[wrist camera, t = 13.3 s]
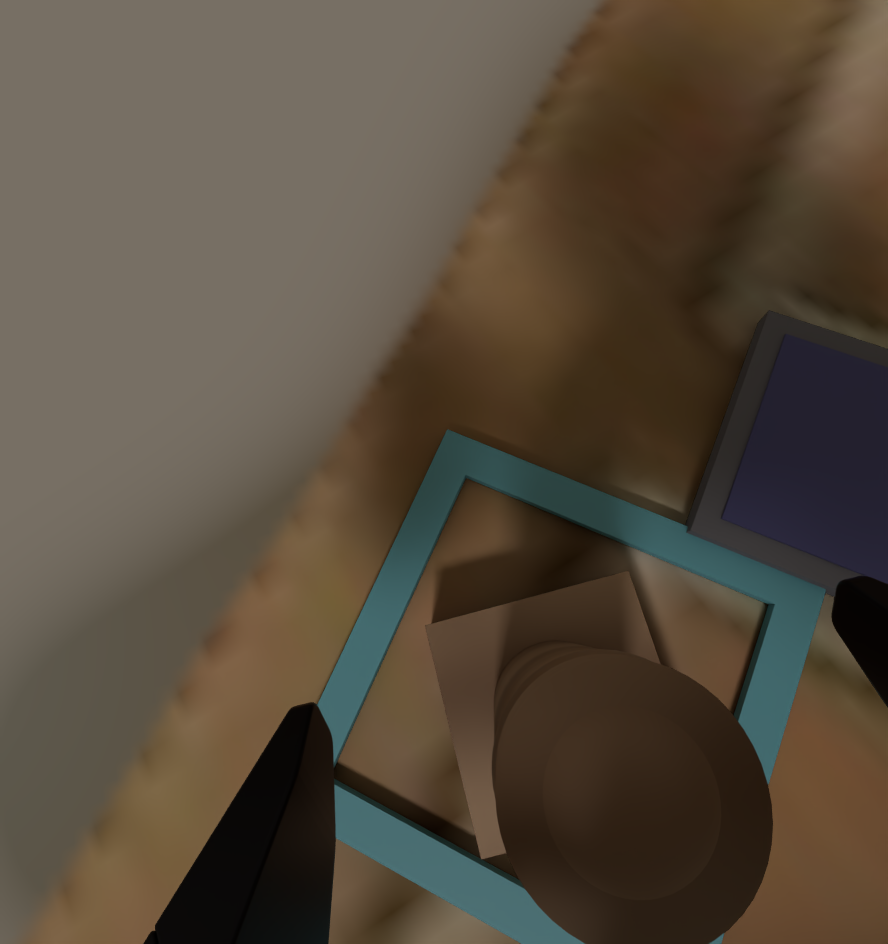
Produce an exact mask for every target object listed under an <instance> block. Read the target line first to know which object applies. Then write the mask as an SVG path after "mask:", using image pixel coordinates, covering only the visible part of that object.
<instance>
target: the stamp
mask: <svg viewBox="0 0 888 944" xmlns="http://www.w3.org/2000/svg"><path fill="white" fill-rule="evenodd" d="M425 627H426V632H427V636H428V640H429V644H430V648H431V652H432V657H433V661H434V665H435V669H436V673H437V677H438V682H439V686H440V690H441V694H442V698H443V702H444V707H445V711H446V715H447V719H448V723H449V727H450V732H451V736H452V740H453V744H454V748H455V752H456V757H457V761H458V765H459V769H460V773H461V777H462V781H463V786H464V790H465V794H466V798H467V802H468V806H469V811H470V815H471V819H472V823H473V827H474V831H475V836H476V840H477V844H478V848H479V852H480V856H481V859H485V858H489V857H493V856H496V855H500V854H504V853H507V856H508V858H509V860H510V862H511V865H512V867H513V869H514V871H515V873H516V875H517V876H518V878H519V880H520V881H521V883H522V885H523V887H524V888H525V890H526V891H527V892H528V894H529V895H530V896H531V898H532V899H533V900H534V902H535V903H536V904H537V906H538V907H539V908H540V909H541V910H542V911H543V912H544V913H545V914H546V915H547V916H548V917H549V918H550V919H551V920H552V921H553V922H555V923H556V924H557V925H558V926H560V927H561V928H562V929H563V930H565V931H566V932H567V933H568V934H570V935H572V936H573V937H575V938H577V939H578V940H580V941H582V942H583V943H585V944H709V943H711V942H713V941H714V940H716V939H717V938H718V937H720V936H721V935H722V934H723V933H725V932H726V931H727V930H729V929H730V928H731V927H732V926H733V925H734V923H735V922H736V921H737V920H738V919H739V918H740V917H741V916H742V915H743V913H744V912H745V911H746V909H747V908H748V906H749V905H750V903H751V902H752V901H753V899H754V897H755V895H756V893H757V891H758V889H759V887H760V885H761V883H762V880H763V877H764V874H765V871H766V868H767V865H768V861H769V855H770V850H771V845H772V829H773V819H772V804H771V799H770V793H769V788H768V783H767V780H766V777H765V773H764V770H763V767H762V764H761V762H760V760H759V757H758V755H757V753H756V750H755V748H754V746H753V744H752V743H751V741H750V739H749V737H748V736H747V734H746V732H745V731H744V729H743V728H742V726H741V725H740V724H739V722H738V721H737V720H736V718H735V717H734V716H733V714H732V713H731V712H730V711H729V710H728V709H727V708H726V707H725V706H724V704H723V703H722V702H721V701H720V700H719V699H718V698H717V697H715V696H714V695H713V694H712V693H711V692H709V691H708V690H707V689H706V688H705V687H703V686H702V685H700V684H699V683H697V682H696V681H694V680H693V679H691V678H690V677H688V676H686V675H684V674H682V673H680V672H678V671H676V670H674V669H672V668H669V667H667V666H664V665H661V664H660V661H659V658H658V655H657V652H656V649H655V646H654V643H653V641H652V638H651V635H650V632H649V629H648V626H647V623H646V620H645V617H644V615H643V612H642V609H641V606H640V603H639V600H638V597H637V594H636V592H635V589H634V586H633V583H632V580H631V577H630V574H629V571H625V572H622V573H618V574H614V575H611V576H607V577H603V578H599V579H596V580H592V581H588V582H585V583H581V584H577V585H573V586H570V587H566V588H562V589H559V590H555V591H551V592H547V593H544V594H540V595H536V596H533V597H529V598H525V599H521V600H518V601H514V602H510V603H507V604H503V605H499V606H495V607H492V608H488V609H484V610H481V611H477V612H473V613H470V614H466V615H462V616H458V617H455V618H451V619H447V620H444V621H440V622H436V623H432V624H429V625H425Z"/></svg>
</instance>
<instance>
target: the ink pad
mask: <svg viewBox="0 0 888 944" xmlns="http://www.w3.org/2000/svg"><path fill="white" fill-rule="evenodd" d="M685 526H688V529H687V532H686V533H688V534H691V535H693V536H696V537H698V538H701V539H703V540H706V541H708V542H711V543H713V544H716V545H718V546H720V547H723V548H725V549H728V550H730V551H733V552H735V553H738V554H740V555H743V556H745V557H748V558H750V559H752V560H755V561H757V562H760V563H762V564H765V565H767V566H770V567H772V568H775V569H777V570H779V571H782V572H784V573H787V574H789V575H792V576H794V577H797V578H799V579H802V580H804V581H807V582H809V583H811V584H814V585H816V586H819V587H821V588H824V589H826V592H825V593H827V594H829V595H832V596H834V597H835V591H836V586H837V584H838V583H839V582H840V581H841V580H844V579H849V578H853V577H857V576H869V577H872V578H874V579H877V580H879V581H882V582H884V583H887V584H888V349H886V348H883V347H880V346H877V345H874V344H871V343H868V342H865V341H862V340H859V339H856V338H853V337H850V336H846V335H843V334H840V333H837V332H834V331H831V330H828V329H825V328H822V327H819V326H816V325H813V324H810V323H807V322H803V321H800V320H797V319H794V318H791V317H788V316H785V315H782V314H779V313H776V312H773V311H770V310H769V311H768V312H767V313H766V314H765V316H764V317H763V318H762V319H761V320H760V321H759V322H758V325H757V327H756V330H755V333H754V336H753V339H752V341H751V344H750V347H749V350H748V352H747V355H746V358H745V361H744V364H743V366H742V369H741V372H740V375H739V377H738V380H737V383H736V386H735V389H734V391H733V394H732V397H731V400H730V402H729V405H728V408H727V411H726V414H725V416H724V419H723V422H722V425H721V427H720V430H719V433H718V436H717V439H716V441H715V444H714V447H713V450H712V452H711V455H710V458H709V461H708V464H707V466H706V469H705V472H704V475H703V478H702V480H701V483H700V486H699V489H698V491H697V494H696V497H695V500H694V503H693V505H692V508H691V511H690V514H689V516H688V519H687V522H686V525H685Z"/></svg>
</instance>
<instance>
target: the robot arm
mask: <svg viewBox="0 0 888 944" xmlns="http://www.w3.org/2000/svg"><path fill="white" fill-rule="evenodd" d="M832 622H833V625H834V627H835V629H836V631H837V633H838V634H839V636H840V637H841V639H842V640H843V642H844V643H845V645H846V646H847V648H848V649H849V651H850V652H851V654H852V655H853V657H854V658H855V660H856V661H857V663H858V664H859V666H860V667H861V669H862V670H863V672H864V673H865V675H866V676H867V678H868V679H869V681H870V682H871V684H872V685H873V687H874V688H875V690H876V691H877V693H878V694H879V696H880V697H881V699H882V700H883V701H884V703H885V704H886V706H887V707H888V584H887V583H884V582H882V581H879V580H877V579H874V578H872V577H869V576H857V577H853V578H849V579H844V580H841V581H840V582H839V583H838V584H837V586H836V591H835V597H834V603H833V609H832ZM335 843H336V821H335V788H334V755H333V739H332V735H331V731H330V729H329V727H328V725H327V723H326V721H325V719H324V717H323V715H322V713H321V711H320V709H319V707H318V706H317V704H315V703H314V702H310V703H306V704H302V705H297V706H294V707H292V708H291V709H290V710H289V711H288V713H287V714H286V716H285V717H284V719H283V721H282V722H281V724H280V725H279V727H278V729H277V730H276V732H275V733H274V735H273V737H272V738H271V740H270V741H269V743H268V745H267V746H266V748H265V749H264V751H263V753H262V754H261V756H260V758H259V759H258V761H257V762H256V764H255V766H254V767H253V769H252V770H251V772H250V774H249V775H248V777H247V778H246V780H245V782H244V783H243V785H242V786H241V788H240V790H239V791H238V793H237V794H236V796H235V798H234V799H233V801H232V802H231V804H230V806H229V807H228V809H227V811H226V812H225V814H224V815H223V817H222V819H221V820H220V822H219V823H218V825H217V827H216V828H215V830H214V831H213V833H212V835H211V836H210V838H209V839H208V841H207V843H206V844H205V846H204V847H203V849H202V851H201V852H200V854H199V856H198V857H197V859H196V860H195V862H194V864H193V865H192V867H191V868H190V870H189V872H188V873H187V875H186V876H185V878H184V880H183V881H182V883H181V884H180V886H179V888H178V889H177V891H176V892H175V894H174V896H173V897H172V899H171V901H170V902H169V904H168V905H167V907H166V909H165V910H164V912H163V913H162V915H161V917H160V918H159V920H158V921H157V923H156V925H155V931H152V932H151V933H150V934H149V935H148V937H147V939H146V940H145V942H144V944H328V942H329V928H330V915H331V901H332V888H333V874H334V860H335Z"/></svg>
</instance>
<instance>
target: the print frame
mask: <svg viewBox="0 0 888 944" xmlns="http://www.w3.org/2000/svg"><path fill="white" fill-rule="evenodd" d="M466 478H468V479H470V480H473V481H475V482H477V483H480V484H482V485H484V486H487V487H489V488H492V489H494V490H496V491H499V492H501V493H504V494H506V495H508V496H511V497H513V498H516V499H518V500H520V501H523V502H525V503H527V504H530V505H532V506H535V507H537V508H539V509H542V510H544V511H547V512H549V513H551V514H554V515H556V516H559V517H561V518H563V519H566V520H568V521H571V522H573V523H575V524H578V525H580V526H582V527H585V528H587V529H590V530H592V531H594V532H597V533H599V534H602V535H604V536H606V537H609V538H611V539H614V540H616V541H618V542H621V543H623V544H625V545H628V546H630V547H633V548H635V549H637V550H640V551H642V552H645V553H647V554H649V555H652V556H654V557H657V558H659V559H661V560H664V561H666V562H668V563H671V564H673V565H676V566H678V567H680V568H683V569H685V570H688V571H690V572H692V573H695V574H697V575H700V576H702V577H704V578H707V579H709V580H711V581H714V582H716V583H719V584H721V585H723V586H726V587H728V588H731V589H733V590H735V591H738V592H740V593H743V594H745V595H747V596H750V597H752V598H755V599H757V600H759V601H762V602H764V603H766V604H769V605H768V608H767V611H766V615H765V618H764V621H763V624H762V627H761V630H760V633H759V637H758V640H757V643H756V646H755V649H754V652H753V656H752V659H751V662H750V665H749V668H748V671H747V675H746V678H745V681H744V684H743V687H742V690H741V693H740V697H739V700H738V703H737V706H736V709H735V712H734V717H735V718H736V720H737V721H738V722H739V724H740V725H741V726H742V728H743V729H744V731H745V732H746V734H747V736H748V737H749V739H750V741H751V743H752V744H753V746H754V748H755V750H756V753H757V755H758V757H759V760H760V762H761V764H762V767H763V770H764V773H765V777H766V780H767V783H768V784H769V781H770V777H771V774H772V771H773V767H774V764H775V760H776V757H777V754H778V750H779V747H780V744H781V740H782V737H783V733H784V730H785V727H786V723H787V720H788V717H789V713H790V710H791V706H792V703H793V700H794V696H795V693H796V690H797V686H798V683H799V680H800V676H801V673H802V669H803V666H804V663H805V659H806V656H807V653H808V649H809V646H810V642H811V639H812V636H813V632H814V629H815V626H816V622H817V619H818V615H819V612H820V609H821V605H822V602H823V599H824V595H825V592H826V589H824V588H821V587H819V586H816V585H814V584H811V583H809V582H807V581H804V580H802V579H799V578H797V577H794V576H792V575H789V574H787V573H784V572H782V571H779V570H777V569H775V568H772V567H770V566H767V565H765V564H762V563H760V562H757V561H755V560H752V559H750V558H748V557H745V556H743V555H740V554H738V553H735V552H733V551H730V550H728V549H725V548H723V547H720V546H718V545H716V544H713V543H711V542H708V541H706V540H703V539H701V538H698V537H696V536H693V535H691V534H688V533H686V532H687V529H688V526H685V525H683V524H680V523H678V522H675V521H673V520H670V519H668V518H666V517H663V516H661V515H658V514H656V513H653V512H651V511H648V510H646V509H643V508H641V507H638V506H636V505H633V504H631V503H628V502H626V501H623V500H621V499H619V498H616V497H614V496H611V495H609V494H606V493H604V492H601V491H599V490H596V489H594V488H591V487H589V486H586V485H584V484H581V483H579V482H576V481H574V480H572V479H569V478H567V477H564V476H562V475H559V474H557V473H554V472H552V471H549V470H547V469H544V468H542V467H539V466H537V465H534V464H532V463H529V462H527V461H525V460H522V459H520V458H517V457H515V456H512V455H510V454H507V453H505V452H502V451H500V450H497V449H495V448H492V447H490V446H487V445H485V444H482V443H480V442H478V441H475V440H473V439H470V438H468V437H465V436H463V435H460V434H458V433H455V432H453V431H450V430H448V429H447V431H446V433H445V435H444V437H443V440H442V442H441V444H440V446H439V448H438V450H437V452H436V454H435V457H434V459H433V461H432V463H431V465H430V467H429V469H428V471H427V474H426V476H425V478H424V480H423V482H422V484H421V486H420V488H419V490H418V493H417V495H416V497H415V499H414V501H413V503H412V505H411V507H410V510H409V512H408V514H407V516H406V518H405V520H404V522H403V524H402V527H401V529H400V531H399V533H398V535H397V537H396V539H395V541H394V544H393V546H392V548H391V550H390V552H389V554H388V556H387V558H386V560H385V563H384V565H383V567H382V569H381V571H380V573H379V575H378V577H377V580H376V582H375V584H374V586H373V588H372V590H371V592H370V594H369V597H368V599H367V601H366V603H365V605H364V607H363V609H362V611H361V614H360V616H359V618H358V620H357V622H356V624H355V626H354V628H353V630H352V633H351V635H350V637H349V639H348V641H347V643H346V645H345V647H344V650H343V652H342V654H341V656H340V658H339V660H338V662H337V664H336V667H335V669H334V671H333V673H332V675H331V677H330V679H329V681H328V684H327V686H326V688H325V690H324V692H323V694H322V696H321V698H320V700H319V703H318V705H317V706H318V707H319V709H320V711H321V713H322V715H323V717H324V719H325V721H326V723H327V725H328V727H329V729H330V731H331V735H332V739H333V755H334V767H335V765H336V763H337V761H338V758H339V756H340V754H341V752H342V750H343V747H344V745H345V743H346V741H347V739H348V736H349V734H350V732H351V730H352V728H353V725H354V723H355V721H356V719H357V717H358V715H359V712H360V710H361V708H362V706H363V704H364V701H365V699H366V697H367V695H368V693H369V690H370V688H371V686H372V684H373V682H374V679H375V677H376V675H377V673H378V671H379V668H380V666H381V664H382V662H383V660H384V657H385V655H386V653H387V651H388V649H389V646H390V644H391V642H392V640H393V638H394V635H395V633H396V631H397V629H398V627H399V624H400V622H401V620H402V618H403V616H404V613H405V611H406V609H407V607H408V605H409V602H410V600H411V598H412V596H413V594H414V591H415V589H416V587H417V585H418V583H419V580H420V578H421V576H422V574H423V572H424V569H425V567H426V565H427V563H428V561H429V558H430V556H431V554H432V552H433V550H434V547H435V545H436V543H437V541H438V539H439V536H440V534H441V532H442V530H443V528H444V525H445V523H446V521H447V519H448V517H449V514H450V512H451V510H452V508H453V506H454V503H455V501H456V499H457V497H458V495H459V492H460V490H461V488H462V486H463V484H464V481H465V479H466ZM334 788H335V821H336V838H337V839H339V840H340V841H342V842H344V843H346V844H347V845H349V846H351V847H353V848H354V849H356V850H358V851H360V852H361V853H363V854H365V855H367V856H368V857H370V858H372V859H374V860H375V861H377V862H379V863H381V864H382V865H384V866H386V867H388V868H390V869H391V870H393V871H395V872H397V873H398V874H400V875H402V876H404V877H405V878H407V879H409V880H411V881H412V882H414V883H416V884H418V885H419V886H421V887H423V888H425V889H426V890H428V891H430V892H432V893H433V894H435V895H437V896H439V897H440V898H442V899H444V900H446V901H448V902H449V903H451V904H453V905H455V906H456V907H458V908H460V909H462V910H463V911H465V912H467V913H469V914H470V915H472V916H474V917H476V918H477V919H479V920H481V921H483V922H484V923H486V924H488V925H490V926H491V927H493V928H495V929H497V930H498V931H500V932H502V933H504V934H506V935H507V936H509V937H511V938H513V939H514V940H516V941H518V942H520V943H521V944H585V943H583V942H582V941H580V940H578V939H577V938H575V937H573V936H572V935H570V934H568V933H567V932H566V931H565V930H563V929H562V928H561V927H560V926H558V925H557V924H556V923H555V922H553V921H552V920H551V919H550V918H549V917H548V916H547V915H546V914H545V913H544V912H543V911H542V910H541V909H540V908H539V907H538V906H537V904H536V903H535V902H534V900H533V899H532V898H531V896H530V895H529V894H528V892H527V891H526V890H525V888H524V887H523V885H522V883H521V881H520V880H518V879H516V878H515V877H513V876H511V875H509V874H507V873H506V872H504V871H502V870H500V869H498V868H496V867H495V866H493V865H491V864H489V863H487V862H485V861H484V860H482V859H480V858H478V857H476V856H475V855H473V854H471V853H469V852H467V851H465V850H464V849H462V848H460V847H458V846H456V845H454V844H453V843H451V842H449V841H447V840H445V839H443V838H442V837H440V836H438V835H436V834H434V833H433V832H431V831H429V830H427V829H425V828H423V827H422V826H420V825H418V824H416V823H414V822H412V821H411V820H409V819H407V818H405V817H403V816H402V815H400V814H398V813H396V812H394V811H392V810H391V809H389V808H387V807H385V806H383V805H381V804H380V803H378V802H376V801H374V800H372V799H370V798H369V797H367V796H365V795H363V794H361V793H360V792H358V791H356V790H354V789H352V788H350V787H349V786H347V785H345V784H343V783H341V782H339V781H338V780H336V779H334ZM723 936H724V933H723V934H722V935H721V936H720V937H718V938H717V939H716V940H714V941H713V942H711V943H709V944H721V942H722V939H723Z"/></svg>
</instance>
